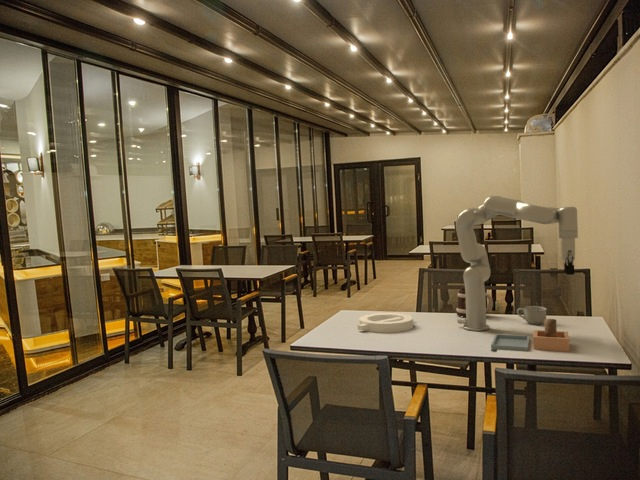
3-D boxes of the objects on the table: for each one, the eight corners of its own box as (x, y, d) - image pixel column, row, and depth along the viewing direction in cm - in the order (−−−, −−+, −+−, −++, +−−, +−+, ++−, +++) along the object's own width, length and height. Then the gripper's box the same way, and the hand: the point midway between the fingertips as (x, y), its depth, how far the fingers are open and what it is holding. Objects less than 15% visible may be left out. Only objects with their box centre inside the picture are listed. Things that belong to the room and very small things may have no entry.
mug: (455, 318, 271) (454, 291, 271) (457, 312, 285) (456, 287, 285) (493, 319, 264) (492, 291, 264) (493, 313, 279) (492, 287, 278)
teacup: (548, 322, 251) (547, 306, 251) (545, 326, 242) (544, 310, 242) (519, 320, 259) (519, 305, 258) (515, 324, 250) (515, 308, 249)
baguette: (545, 347, 200) (544, 320, 200) (545, 344, 204) (544, 318, 204) (557, 347, 199) (556, 321, 198) (556, 345, 203) (556, 319, 202)
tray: (491, 350, 202) (491, 344, 202) (495, 339, 220) (495, 334, 220) (527, 353, 196) (527, 347, 196) (529, 341, 214) (529, 335, 214)
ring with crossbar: (412, 321, 269) (412, 312, 268) (413, 333, 241) (413, 323, 241) (362, 321, 274) (361, 313, 273) (357, 333, 246) (356, 323, 246)
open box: (533, 351, 198) (533, 336, 198) (534, 343, 210) (533, 330, 210) (569, 353, 193) (569, 338, 193) (568, 345, 205) (567, 331, 204)
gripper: (557, 234, 225) (558, 271, 226) (560, 235, 209) (561, 275, 210) (575, 233, 222) (576, 271, 223) (579, 235, 207) (580, 275, 207)
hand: (569, 273), depth 217 cm, fingers open, 9 cm apart
